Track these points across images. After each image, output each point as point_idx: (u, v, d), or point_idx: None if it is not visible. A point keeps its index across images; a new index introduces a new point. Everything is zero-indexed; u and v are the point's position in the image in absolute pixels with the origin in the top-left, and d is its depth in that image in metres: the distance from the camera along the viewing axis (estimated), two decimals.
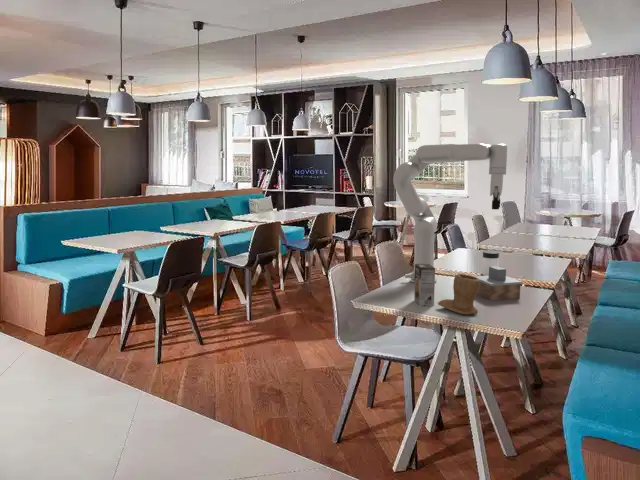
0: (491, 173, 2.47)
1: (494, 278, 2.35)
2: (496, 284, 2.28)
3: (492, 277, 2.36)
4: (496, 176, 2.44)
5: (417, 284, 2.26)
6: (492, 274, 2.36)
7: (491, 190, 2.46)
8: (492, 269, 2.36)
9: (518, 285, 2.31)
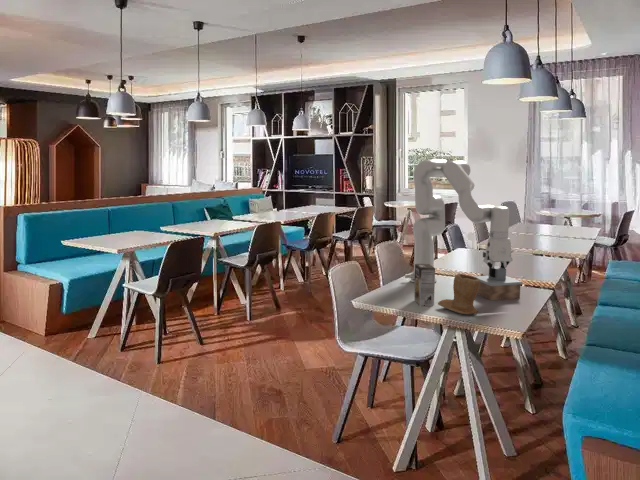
0: (507, 237, 2.32)
1: (494, 278, 2.35)
2: (496, 284, 2.28)
3: (492, 277, 2.36)
4: None
5: (417, 284, 2.26)
6: None
7: None
8: None
9: (518, 285, 2.31)
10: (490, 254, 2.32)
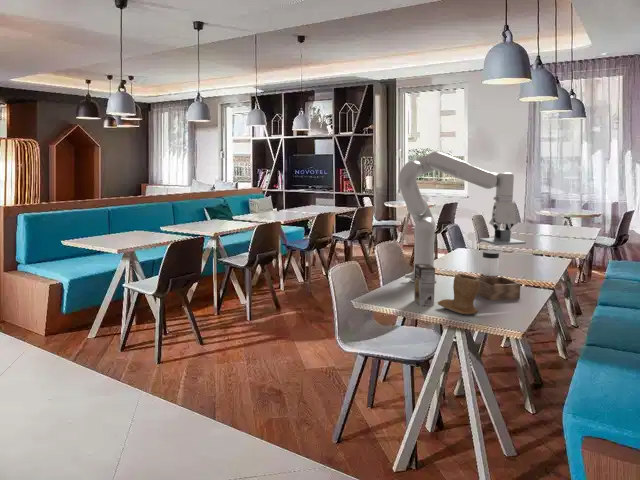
0: None
1: (499, 239, 2.54)
2: (501, 243, 2.47)
3: (497, 238, 2.56)
4: None
5: (417, 284, 2.26)
6: None
7: None
8: None
9: (518, 285, 2.31)
10: (496, 216, 2.51)
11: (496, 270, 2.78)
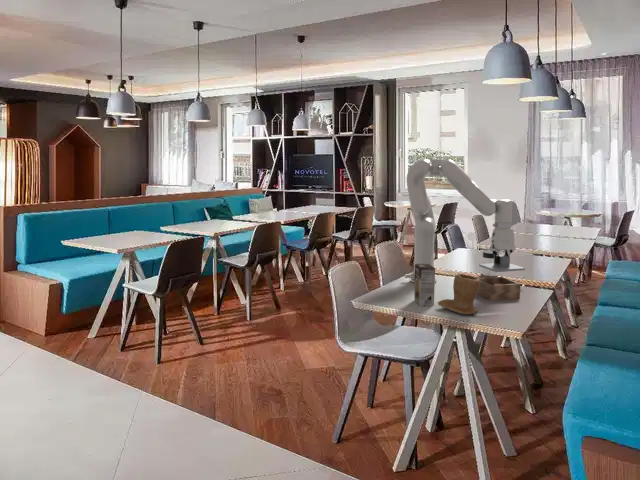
0: (511, 228, 2.53)
1: (499, 265, 2.56)
2: (501, 270, 2.49)
3: (497, 264, 2.57)
4: None
5: (417, 284, 2.26)
6: None
7: None
8: None
9: (518, 285, 2.31)
10: (495, 243, 2.53)
11: None
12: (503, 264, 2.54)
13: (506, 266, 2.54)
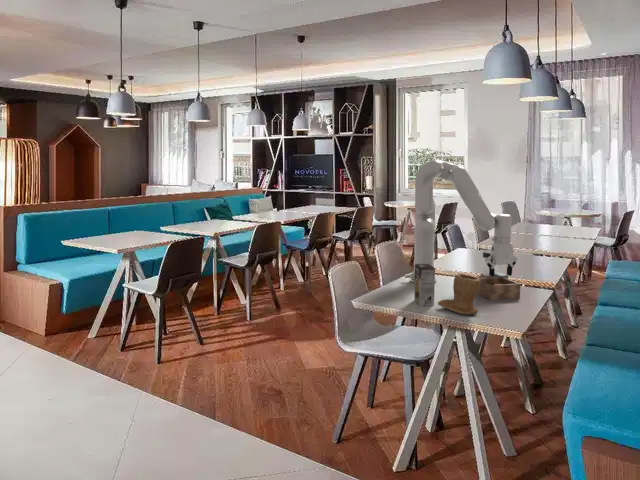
0: None
1: None
2: None
3: None
4: None
5: (417, 284, 2.26)
6: None
7: None
8: (495, 275, 2.59)
9: (518, 285, 2.31)
10: (494, 257, 2.54)
11: (496, 270, 2.78)
12: None
13: None
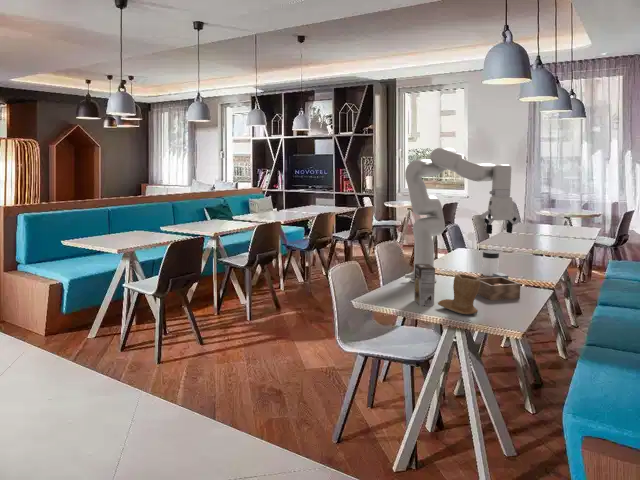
0: (509, 196, 2.29)
1: None
2: None
3: None
4: None
5: (417, 284, 2.26)
6: None
7: None
8: (495, 275, 2.59)
9: (518, 285, 2.31)
10: (492, 212, 2.29)
11: (496, 270, 2.78)
12: None
13: None
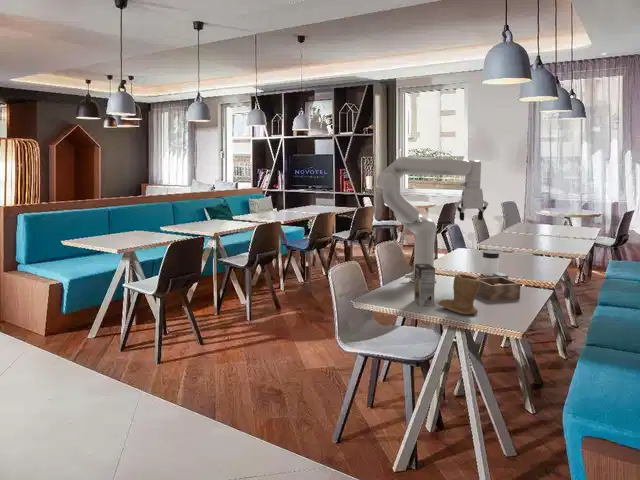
0: (479, 187, 2.63)
1: None
2: None
3: None
4: None
5: (417, 284, 2.26)
6: None
7: (482, 203, 2.65)
8: (495, 275, 2.59)
9: (518, 285, 2.31)
10: (464, 202, 2.63)
11: (496, 270, 2.78)
12: None
13: None
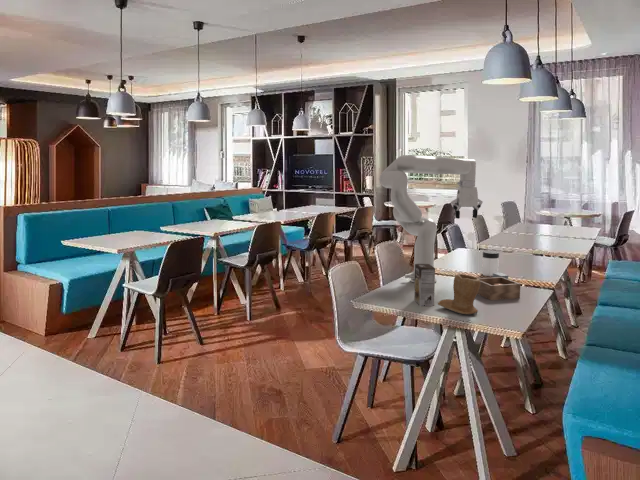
0: (474, 186, 2.70)
1: None
2: None
3: None
4: None
5: (417, 284, 2.26)
6: None
7: (477, 201, 2.72)
8: (495, 275, 2.59)
9: (518, 285, 2.31)
10: (459, 200, 2.70)
11: (496, 270, 2.78)
12: None
13: None
